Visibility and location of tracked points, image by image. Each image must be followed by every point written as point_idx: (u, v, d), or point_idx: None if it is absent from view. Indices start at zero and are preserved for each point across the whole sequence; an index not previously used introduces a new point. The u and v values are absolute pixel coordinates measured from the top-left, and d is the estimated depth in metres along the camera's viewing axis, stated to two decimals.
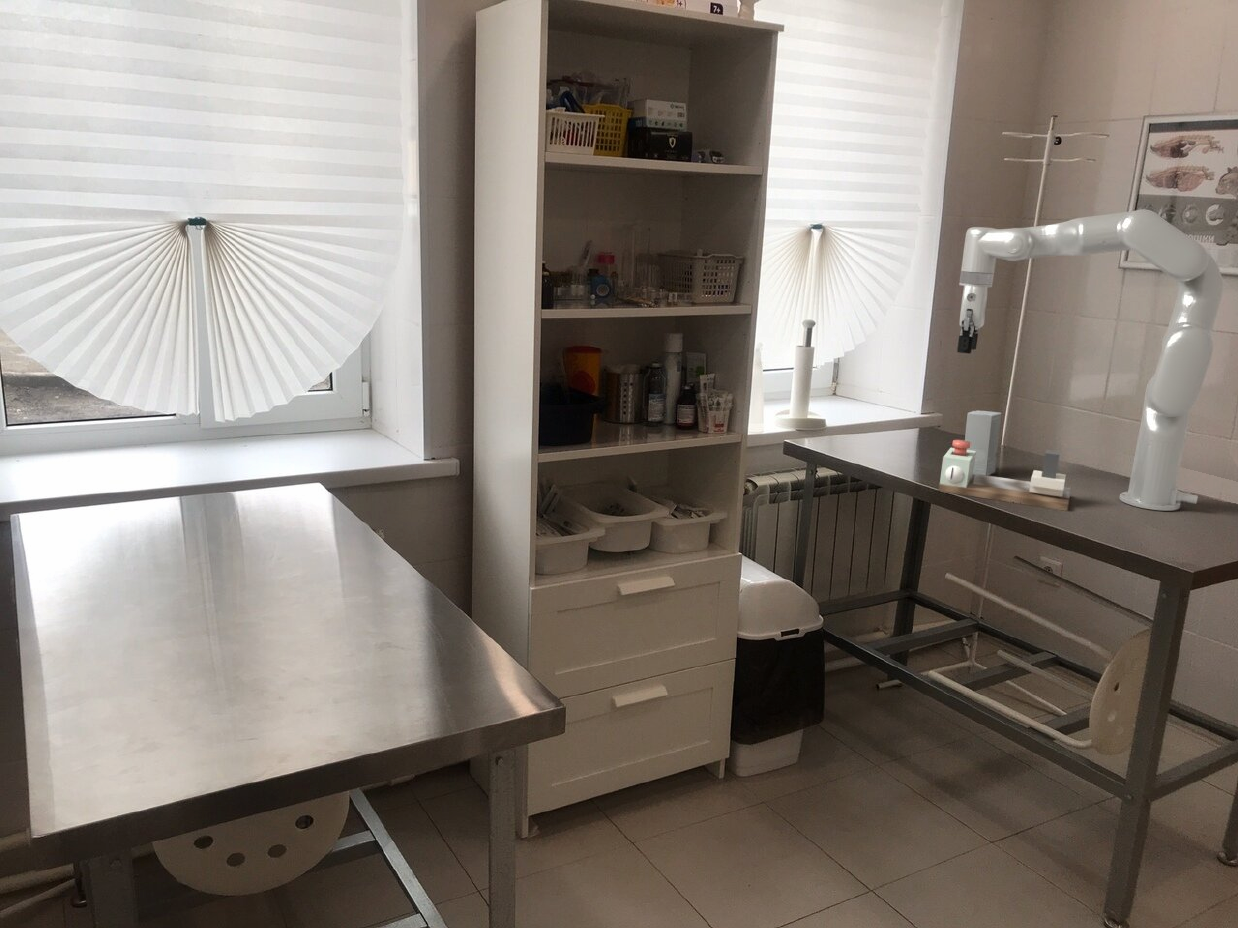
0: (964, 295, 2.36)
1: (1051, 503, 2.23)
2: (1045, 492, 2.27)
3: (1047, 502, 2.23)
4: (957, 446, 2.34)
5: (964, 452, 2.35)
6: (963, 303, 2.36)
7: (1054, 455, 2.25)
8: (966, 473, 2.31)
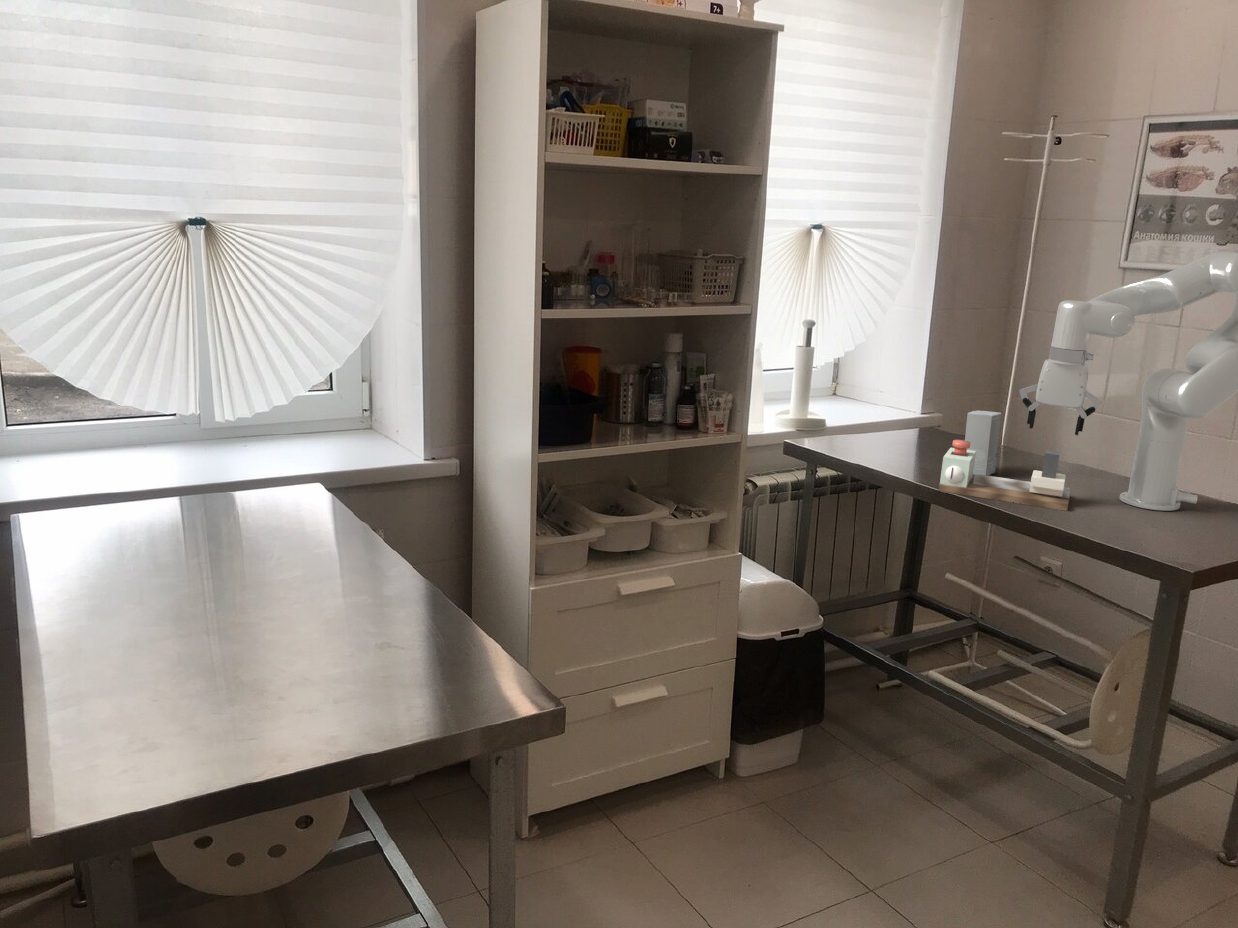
0: (1085, 375, 2.19)
1: (1051, 503, 2.23)
2: (1045, 492, 2.27)
3: (1047, 502, 2.23)
4: (957, 446, 2.34)
5: (964, 452, 2.35)
6: (1085, 384, 2.20)
7: (1054, 455, 2.25)
8: (966, 473, 2.31)
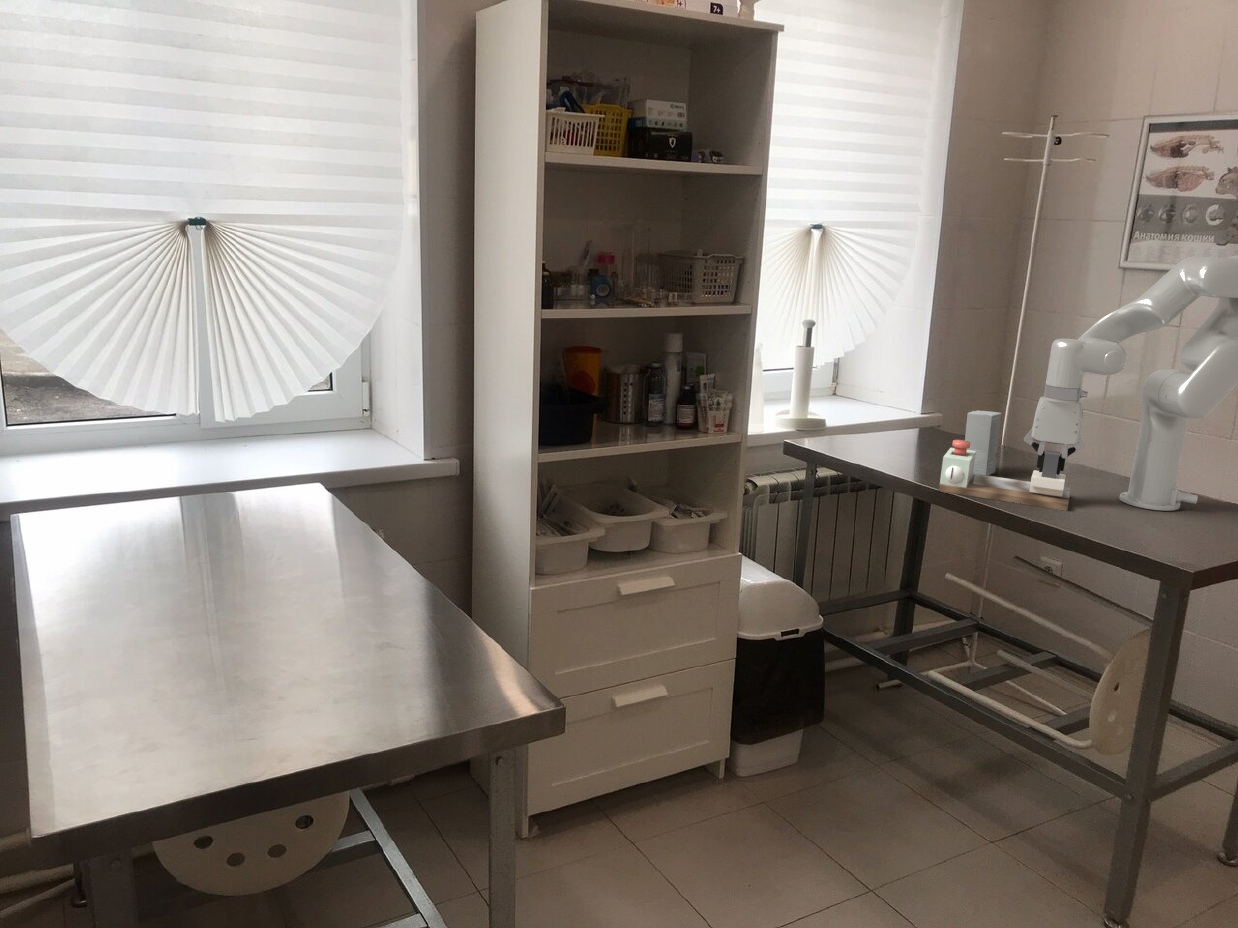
0: (1080, 413, 2.21)
1: (1051, 503, 2.23)
2: (1045, 492, 2.27)
3: (1047, 502, 2.23)
4: (957, 446, 2.34)
5: (964, 452, 2.35)
6: (1080, 421, 2.22)
7: (1054, 455, 2.25)
8: (966, 473, 2.31)
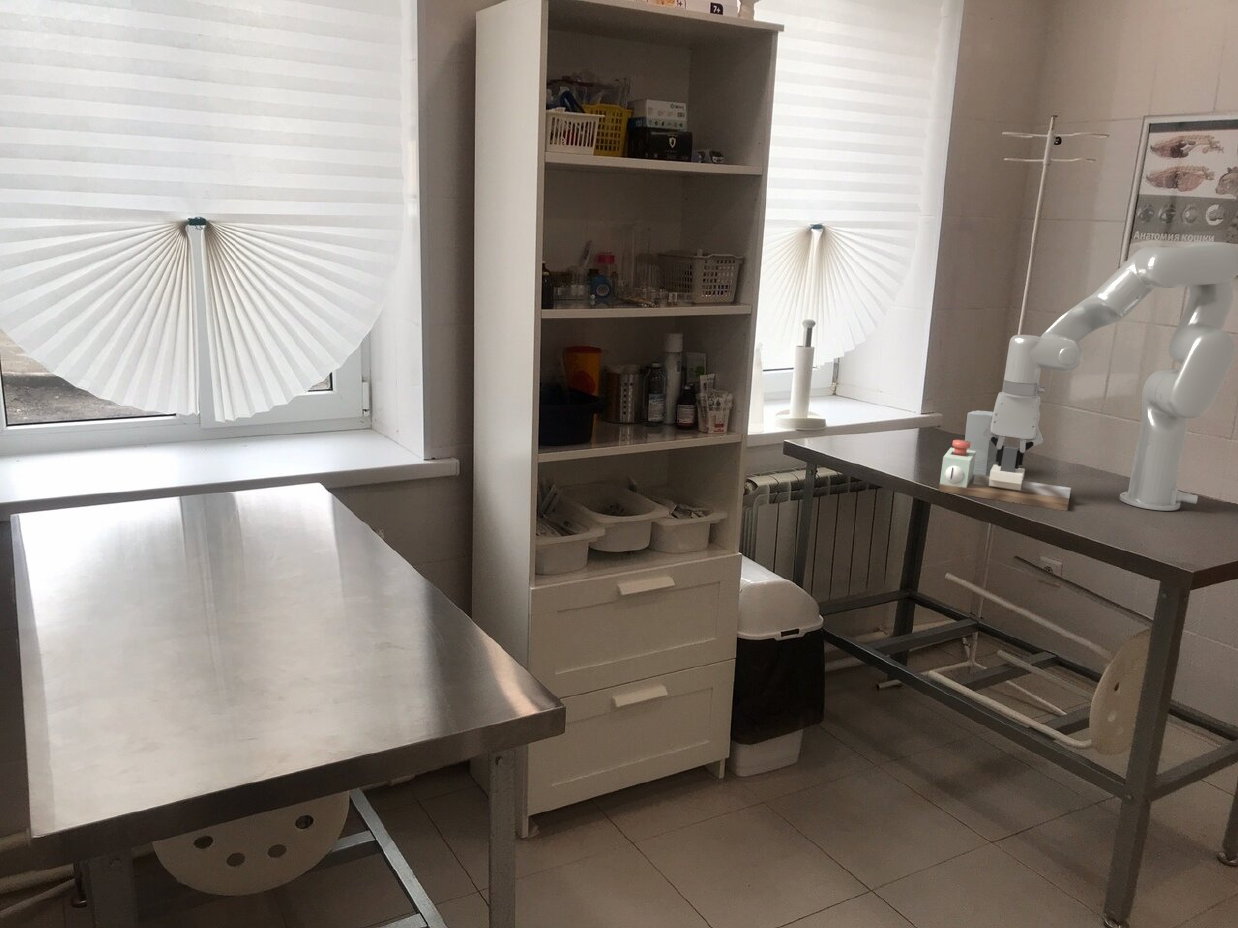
0: (1037, 408, 2.25)
1: (1051, 503, 2.23)
2: (1004, 486, 2.31)
3: (1047, 502, 2.23)
4: (957, 446, 2.34)
5: (964, 452, 2.35)
6: (1037, 416, 2.25)
7: (1012, 449, 2.29)
8: (966, 473, 2.31)
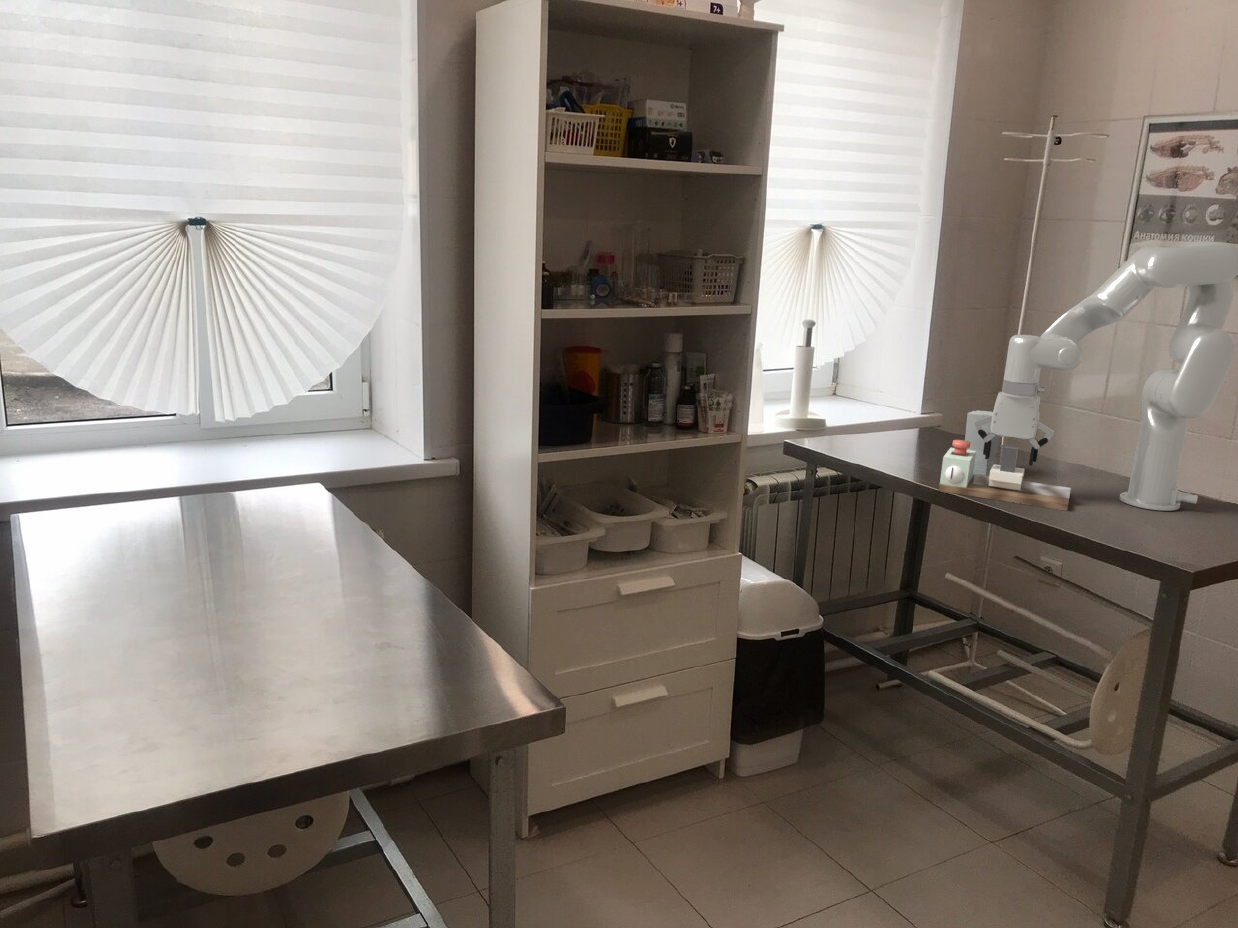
0: (1037, 408, 2.25)
1: (1051, 503, 2.23)
2: (1004, 486, 2.31)
3: (1047, 502, 2.23)
4: (957, 446, 2.34)
5: (964, 452, 2.35)
6: (1037, 416, 2.26)
7: (1012, 449, 2.29)
8: (966, 473, 2.31)
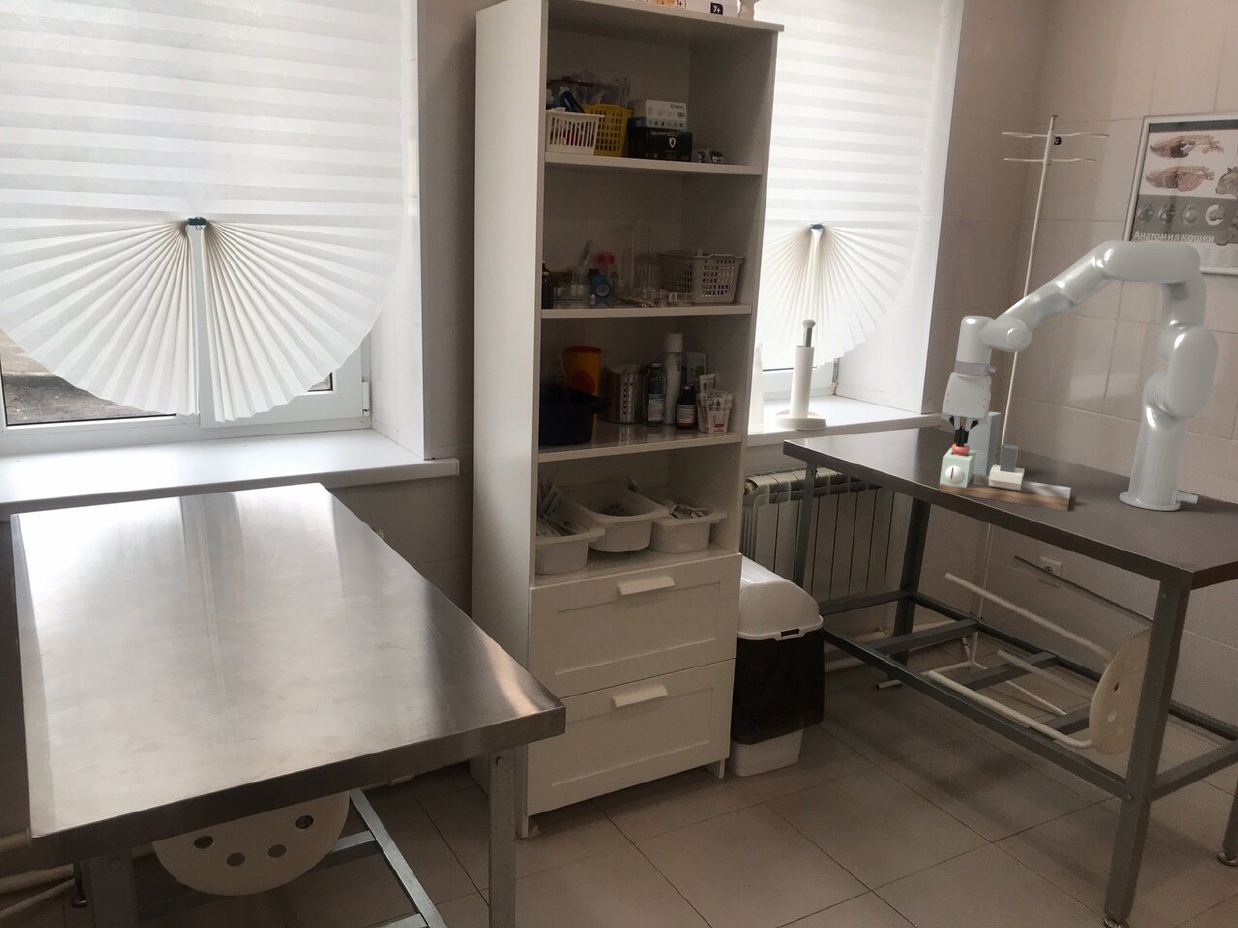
0: (988, 388, 2.29)
1: (1051, 503, 2.23)
2: (1004, 486, 2.31)
3: (1047, 502, 2.23)
4: (956, 450, 2.35)
5: None
6: (988, 396, 2.29)
7: (1012, 449, 2.29)
8: (966, 473, 2.31)
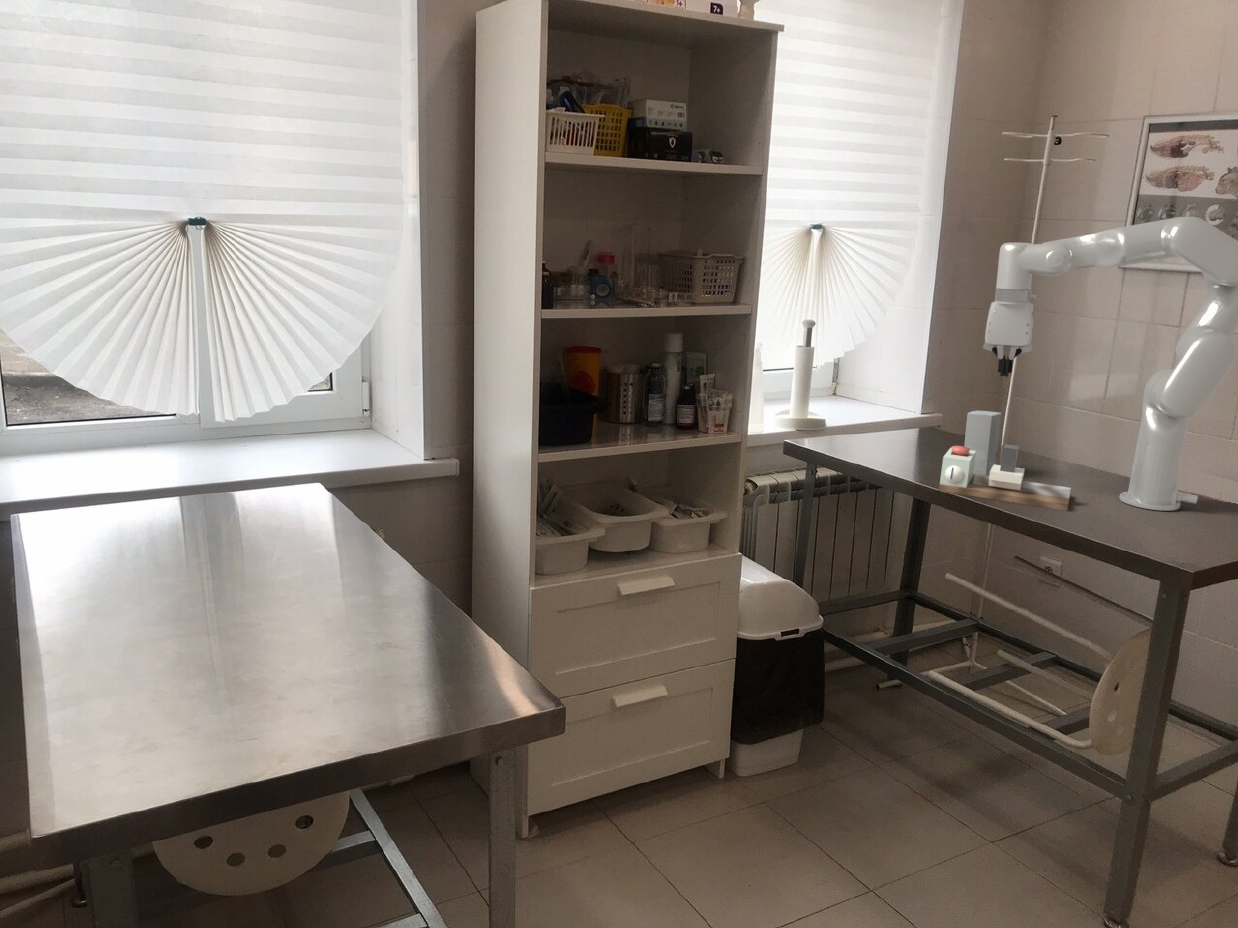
0: (1030, 314, 2.27)
1: (1051, 503, 2.23)
2: (1004, 486, 2.31)
3: (1047, 502, 2.23)
4: (956, 452, 2.35)
5: None
6: (1031, 322, 2.27)
7: (1012, 449, 2.29)
8: (966, 473, 2.31)
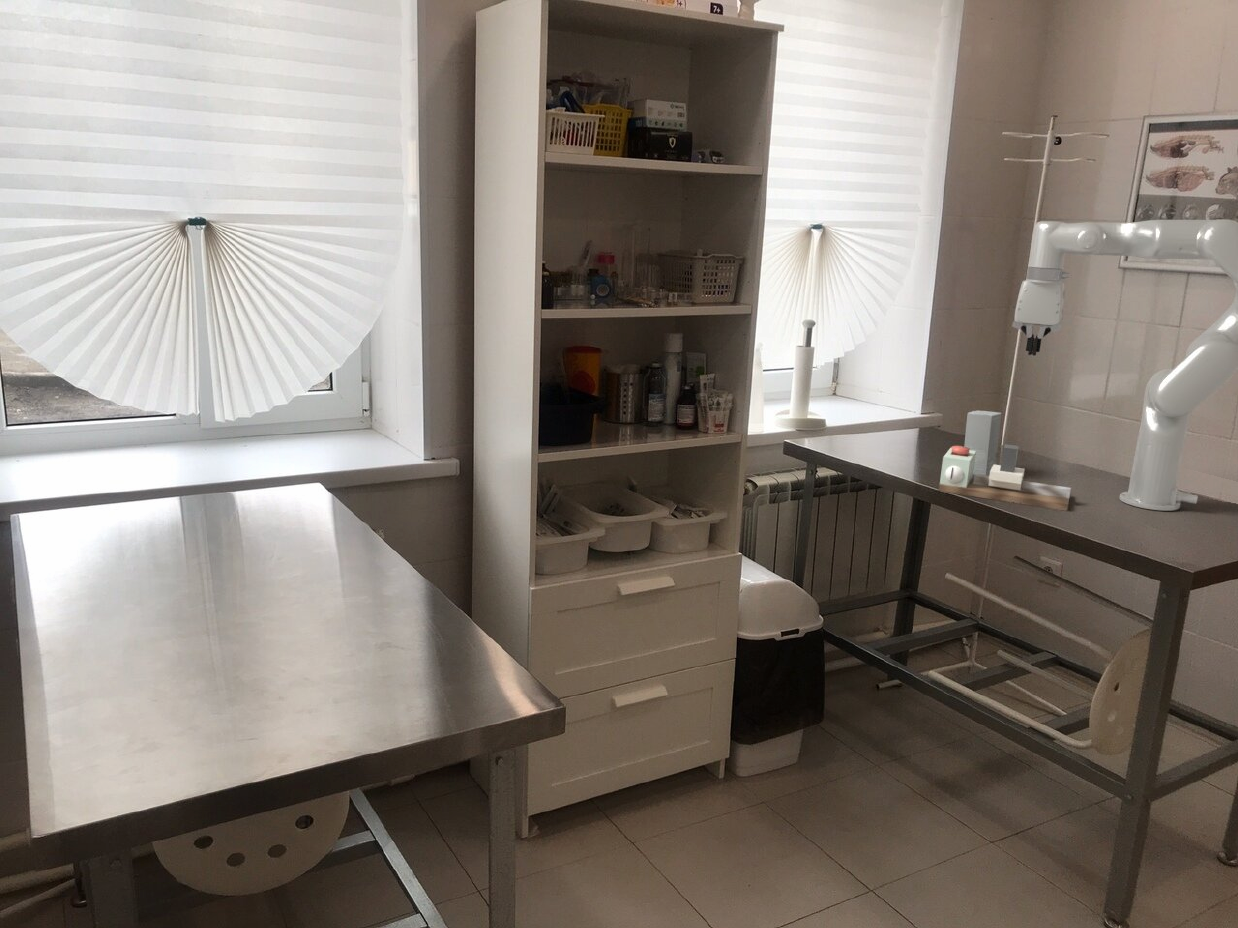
0: (1061, 293, 2.27)
1: (1051, 503, 2.23)
2: (1004, 486, 2.31)
3: (1047, 502, 2.23)
4: (956, 452, 2.35)
5: None
6: (1062, 301, 2.28)
7: (1012, 449, 2.29)
8: (966, 473, 2.31)
